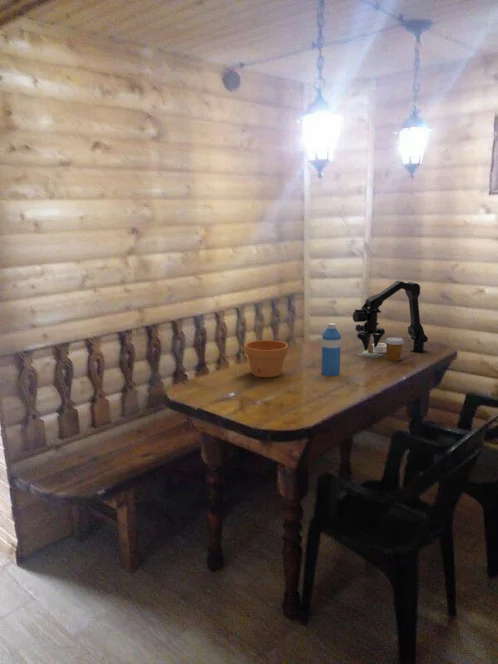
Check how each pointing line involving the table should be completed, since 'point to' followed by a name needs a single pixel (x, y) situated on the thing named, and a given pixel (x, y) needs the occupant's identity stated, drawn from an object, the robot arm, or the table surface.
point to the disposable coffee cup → (394, 348)
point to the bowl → (380, 348)
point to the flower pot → (266, 357)
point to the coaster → (370, 356)
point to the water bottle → (331, 351)
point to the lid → (370, 351)
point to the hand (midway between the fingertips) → (370, 348)
